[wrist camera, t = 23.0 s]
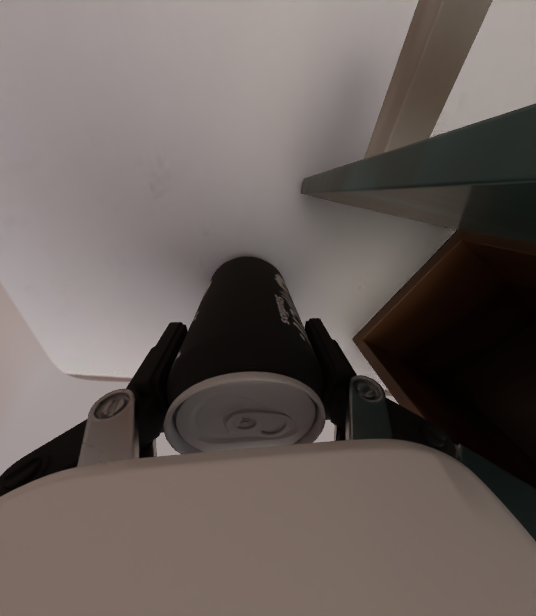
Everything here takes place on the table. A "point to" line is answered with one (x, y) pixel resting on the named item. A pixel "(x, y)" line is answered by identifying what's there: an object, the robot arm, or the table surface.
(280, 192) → the table surface
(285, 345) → the beverage can
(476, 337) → the cupboard
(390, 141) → the cupboard door
